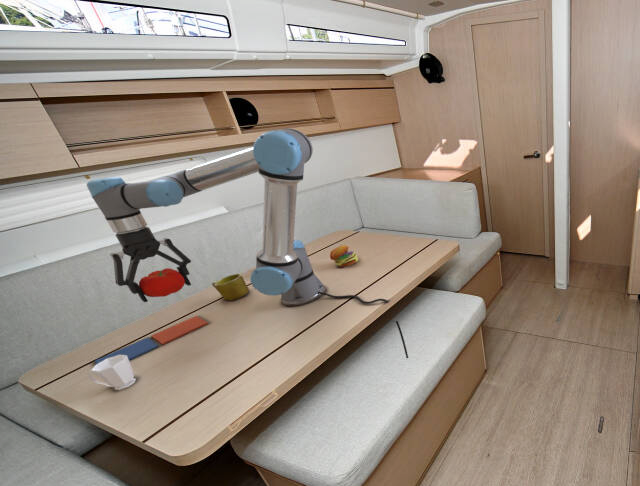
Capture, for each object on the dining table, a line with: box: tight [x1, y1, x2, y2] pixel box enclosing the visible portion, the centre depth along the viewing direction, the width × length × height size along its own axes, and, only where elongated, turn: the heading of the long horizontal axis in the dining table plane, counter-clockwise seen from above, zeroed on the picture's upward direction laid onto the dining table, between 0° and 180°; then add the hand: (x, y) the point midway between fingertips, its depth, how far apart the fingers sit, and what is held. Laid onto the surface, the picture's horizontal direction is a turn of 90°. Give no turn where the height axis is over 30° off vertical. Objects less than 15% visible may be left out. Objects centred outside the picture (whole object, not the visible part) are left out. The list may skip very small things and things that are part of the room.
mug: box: [211, 273, 250, 301], centre depth 143 cm, size 12×10×10 cm
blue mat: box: [94, 337, 159, 365], centre depth 113 cm, size 10×13×1 cm
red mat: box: [151, 315, 209, 346], centre depth 124 cm, size 10×13×1 cm
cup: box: [87, 355, 137, 391], centre depth 98 cm, size 7×10×8 cm
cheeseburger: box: [329, 244, 359, 268], centre depth 164 cm, size 10×11×10 cm
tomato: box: [138, 268, 186, 298], centre depth 114 cm, size 11×11×8 cm
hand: (167, 292), depth 115 cm, fingers closed on tomato, 11 cm apart
